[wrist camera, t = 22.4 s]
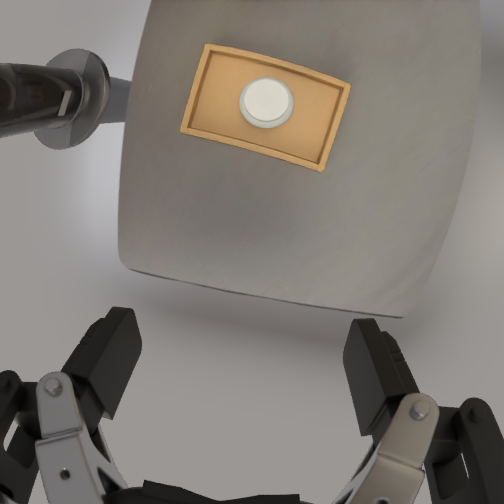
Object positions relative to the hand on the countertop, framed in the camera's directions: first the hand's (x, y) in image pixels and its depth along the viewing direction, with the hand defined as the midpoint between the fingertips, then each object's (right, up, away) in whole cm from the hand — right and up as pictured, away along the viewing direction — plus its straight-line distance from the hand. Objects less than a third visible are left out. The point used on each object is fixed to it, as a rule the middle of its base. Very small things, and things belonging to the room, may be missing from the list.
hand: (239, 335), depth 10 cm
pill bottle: (+2, +20, +21) cm, 29 cm away
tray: (+2, +21, +21) cm, 30 cm away
